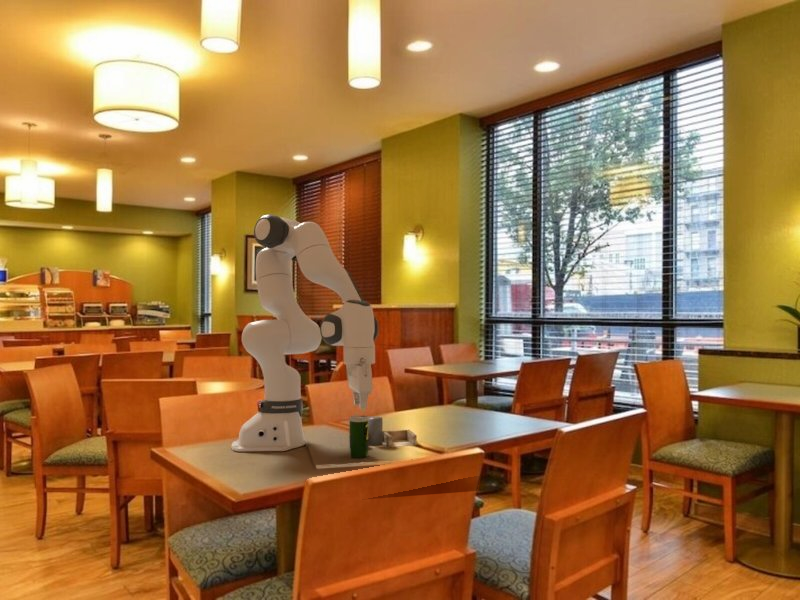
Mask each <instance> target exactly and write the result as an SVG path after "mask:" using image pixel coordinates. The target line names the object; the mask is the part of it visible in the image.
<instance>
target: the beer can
mask: <svg viewBox="0 0 800 600" xmlns="http://www.w3.org/2000/svg"><path fill="white" fill-rule="evenodd" d="M349 417H350V419H349V422H348V426H349V429H348V430H349V431H348V432H349V434H348V435H349V437H348V438H349V440H348V441H349V444H348V445H349V458H350V459H356V460H358V459H359V460H361V459H362V460H363V459H367V458H369V456H370V455H369V454H370V453H369V449H370V448H369V420H368V417H369V416H368V415H365V414H364V415H363V414H362V415H361V414H356V415H350V416H349Z"/></svg>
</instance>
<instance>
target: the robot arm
mask: <svg viewBox="0 0 800 600" xmlns="http://www.w3.org/2000/svg"><path fill="white" fill-rule="evenodd" d="M253 236H254V239H255V242H256V243H258V244H259V245H260V246H262V247H263V249H261V250H260V251H259V252H258V253H257V255H256V258H255V280H256V288H257V294H258V300H259V304H260V306H261V307H262V309H263V310H265V311H267V312H269V313H271V314H272V316H274V317H275V318H276V319H260V320H256V321H252V322H248V323H247V324H246V325H245V327H244V328H243V331H242V333H241V344H242V346H243V348H244V349H245V351H246V352H247V353H248V354H249V355H251V356H252V357H253V358H254V359H255V361H256V362H257V363H258V365H259V366H260V369H261V371H262V374H263V383H264V399H257V401H256V405H257V413H255V414H254V415H252V417H250V419H248V420H247V421H245V422H244V423H243V424H242V426H241V427H240V430H239V433H238V439H236V440H234V441H233V442H232V443H231V447H230V448H231V449H232V451H234V452H284V451H285V452H286V451H288V450H292V449H296V448H300V447H303V446H304V445H306V444H307V443H306V438H305V435H304V434H305V433H304V431H303V430H304V427H303V423H302V422H303V421H302V417H303V398H302V397H301V395H302V394H301V393H302V392H301V390H302V389H301V387H302V386H301V385H302V384H301V381H302V380H301V379H302V377H301V374H300V373H299V371H298V370H297V369H295V368H294V367H292V366H291V365H288V364H287V362H286V360H285V355H301V354H302V355H303V354H307V353H310V352H314V351H316V350H318V348H319V347H320V345H321V342H322V340H323V342H324V343H325V344H327V345H329V346H334V347H335V346H336V347H338V346H339V347H340V346H341V347H342V346H343V364H344V365H345V366H346V379H347V385H348V387H349V388H350V389H351V390H352V396H353V405H354V406H355V407H358V406H359V409H360V410H361V411H366V410H367V409H368V405H367V404H368V399H369V396H368V395H369V394H370V395H371V394H372V393H373V372H372V371H373V370H372V367H371V366H372V365H374V364H376V345H375V341H376V339H377V337H378V336H379V332H380V327H379V325H380V324H379V322H378V319H377V318H376V317H375V315H374V314H375V313H374V310H373V306H372V304H371V303H370V302H369V301H366V300H364V298H363V296H362V294H361V292H360V290H359V289H358V286H357V284H356V282H355V281H354V279H353V277H352V276H351V274H350V272H349V271H348V270H347V269H346V268H344V266H343V265H341V263H340V262H339V260H338V259H337V257H336V256H335V254H334V252H333V249H332V246H331V245H330V242H329V239H328V237H327V236H326V234H325V232H324V230H323V228H322V227H321V226H320V225H319V224H318V223H316V222H313V221H304V222H299V221H298V220H294V219H292V218H287V217H282V216H278V215H276V214H265V215H262V216H260V218H258V220H257V221H256V223H255V225H254V230H253ZM291 261H294V262H297V264H298V266H299V269H300V271H301V273H302V275H303V276H304V278H305V279H307V280H309V281H310V282H312V283H314V284H316V285H320V286H322V287H326V288H327V289H330V290H332V291H333V292H335V293H337V295H338V296H339V297H340V299H341V300H342V302H343V305H342V306H341V307H340V308H339V309H337V310H335V311H333V312H331V313H326V315H325V316H324V317H322V319H321V322H320V326H319V324H317V322H315V321H314V320H312V319H311V318H310V317H309V316H308V315H306V314H305V313H304V311H303V309H301V307H300V305H299V304H298V301H297V299H296V296H295V291H294V286H293V281H292V275H291V271H290V270H291V269H290V264H291V263H290V262H291Z"/></svg>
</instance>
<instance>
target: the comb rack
mask: <svg viewBox="0 0 800 600" xmlns="http://www.w3.org/2000/svg"><path fill="white" fill-rule="evenodd" d="M417 437H418V435H417V434H416V433H414V432H413V431H412V430H410V429H401V430H400V429H397V430H396V429H394V430H383V444H382V445H380V446H370V445H369V449H379V448H397V447H413V446H417V441H418V440H417Z"/></svg>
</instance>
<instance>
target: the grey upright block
mask: <svg viewBox="0 0 800 600" xmlns="http://www.w3.org/2000/svg"><path fill="white" fill-rule="evenodd" d="M368 420H369V445H370V446H380V445H382V444H383V431H384V430H383V429H384V428H383V424H384V423H383V422H384V421H383V417H382V416H368Z"/></svg>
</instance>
